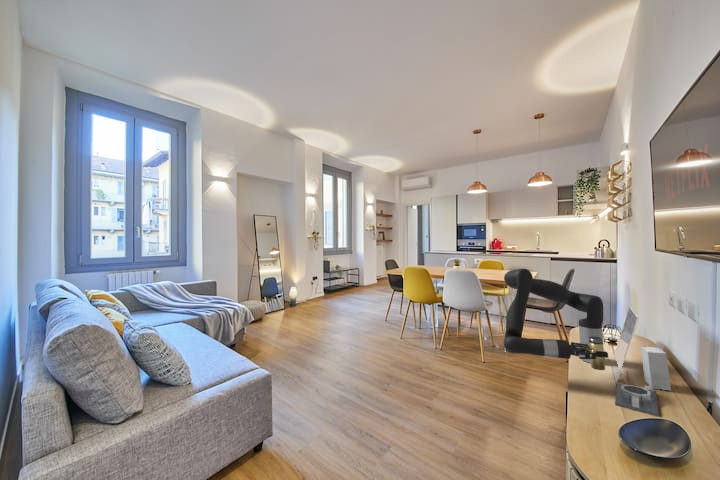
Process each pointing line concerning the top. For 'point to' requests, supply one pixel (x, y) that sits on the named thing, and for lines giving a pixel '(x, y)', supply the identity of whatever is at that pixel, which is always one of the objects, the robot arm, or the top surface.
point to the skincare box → (655, 368)
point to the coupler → (597, 345)
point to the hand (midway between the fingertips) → (605, 352)
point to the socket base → (637, 398)
